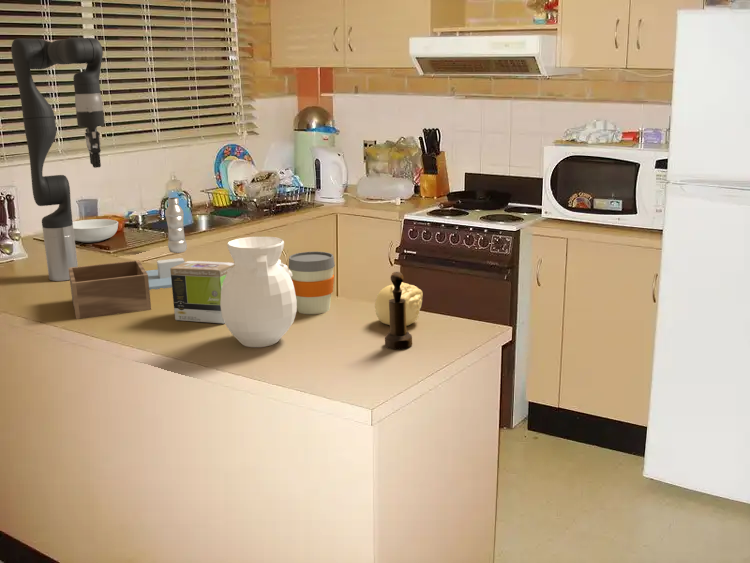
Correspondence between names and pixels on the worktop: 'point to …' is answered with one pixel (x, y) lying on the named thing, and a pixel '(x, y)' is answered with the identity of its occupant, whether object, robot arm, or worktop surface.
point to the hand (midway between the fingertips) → (95, 165)
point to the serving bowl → (94, 230)
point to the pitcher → (258, 292)
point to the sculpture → (408, 293)
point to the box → (109, 289)
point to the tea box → (198, 290)
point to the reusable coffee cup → (312, 281)
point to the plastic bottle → (175, 226)
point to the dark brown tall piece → (397, 317)
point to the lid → (162, 273)
